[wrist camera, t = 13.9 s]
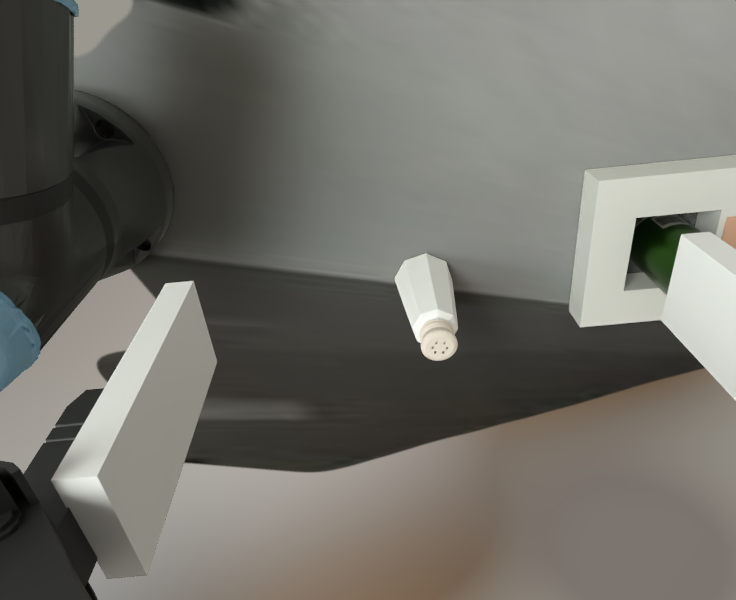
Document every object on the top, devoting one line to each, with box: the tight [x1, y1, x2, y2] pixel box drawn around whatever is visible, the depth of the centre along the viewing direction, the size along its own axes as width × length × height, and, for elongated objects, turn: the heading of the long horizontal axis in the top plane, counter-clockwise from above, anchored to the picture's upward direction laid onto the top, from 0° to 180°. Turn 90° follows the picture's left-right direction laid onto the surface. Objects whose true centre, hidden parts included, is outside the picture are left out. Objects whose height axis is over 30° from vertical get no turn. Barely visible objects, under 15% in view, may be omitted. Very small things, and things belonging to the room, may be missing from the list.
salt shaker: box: [394, 253, 458, 361], centre depth 45 cm, size 5×5×11 cm
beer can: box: [630, 214, 702, 295], centre depth 44 cm, size 5×5×12 cm
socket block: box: [569, 155, 736, 327], centre depth 47 cm, size 14×14×3 cm
